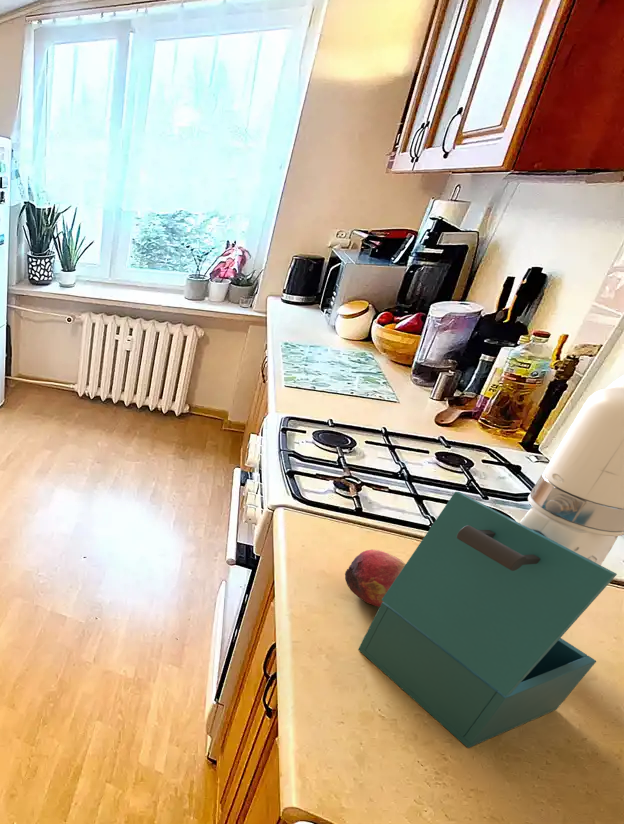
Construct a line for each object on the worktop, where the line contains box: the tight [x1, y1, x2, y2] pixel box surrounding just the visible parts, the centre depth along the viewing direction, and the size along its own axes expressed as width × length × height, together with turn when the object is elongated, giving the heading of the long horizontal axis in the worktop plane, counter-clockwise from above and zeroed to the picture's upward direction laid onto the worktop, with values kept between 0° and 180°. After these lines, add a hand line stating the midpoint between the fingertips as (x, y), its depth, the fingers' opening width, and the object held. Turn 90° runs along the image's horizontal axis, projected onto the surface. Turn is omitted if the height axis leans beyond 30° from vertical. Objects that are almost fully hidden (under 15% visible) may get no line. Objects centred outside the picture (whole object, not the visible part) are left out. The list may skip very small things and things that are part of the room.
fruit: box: [344, 549, 406, 608], centre depth 76 cm, size 8×8×8 cm
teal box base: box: [357, 602, 597, 749], centre depth 64 cm, size 16×14×9 cm
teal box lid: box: [382, 491, 618, 696], centre depth 56 cm, size 16×14×6 cm
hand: (502, 622), depth 63 cm, fingers closed on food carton, 5 cm apart
